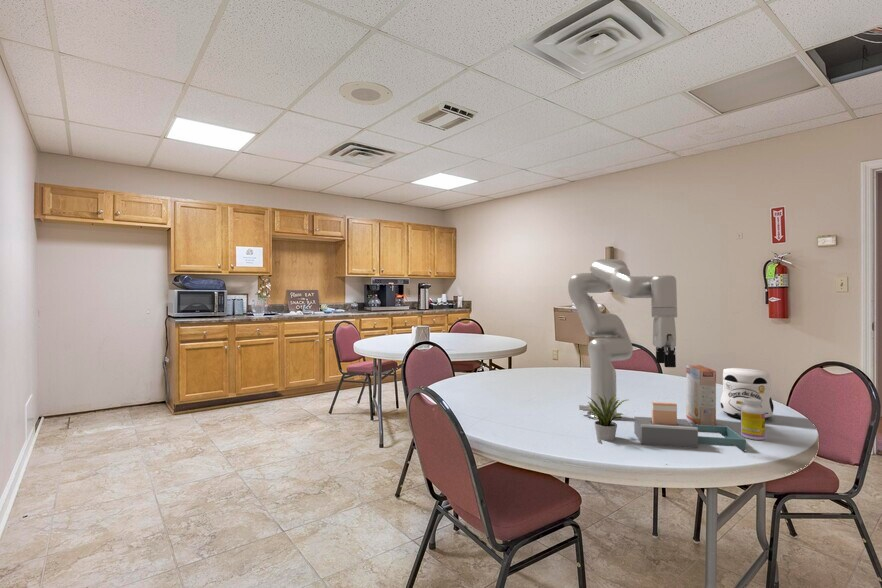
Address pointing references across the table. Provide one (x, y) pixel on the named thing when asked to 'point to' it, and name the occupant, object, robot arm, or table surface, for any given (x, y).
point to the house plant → (605, 419)
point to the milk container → (745, 390)
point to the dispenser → (666, 433)
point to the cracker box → (701, 395)
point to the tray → (729, 439)
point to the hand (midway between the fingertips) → (665, 365)
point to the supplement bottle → (753, 419)
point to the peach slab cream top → (664, 413)
